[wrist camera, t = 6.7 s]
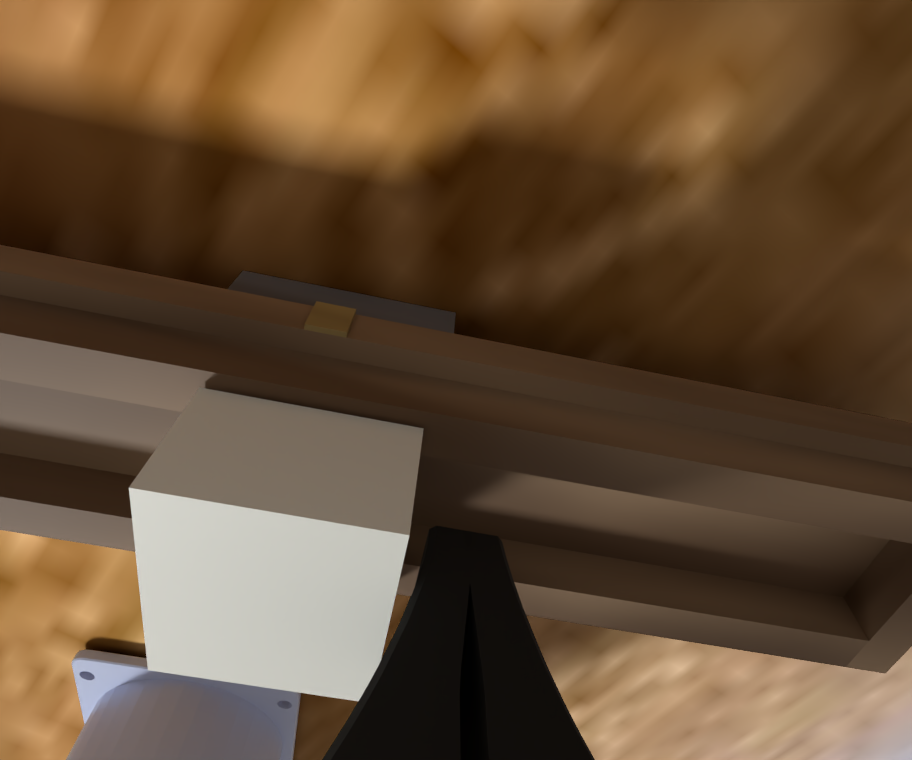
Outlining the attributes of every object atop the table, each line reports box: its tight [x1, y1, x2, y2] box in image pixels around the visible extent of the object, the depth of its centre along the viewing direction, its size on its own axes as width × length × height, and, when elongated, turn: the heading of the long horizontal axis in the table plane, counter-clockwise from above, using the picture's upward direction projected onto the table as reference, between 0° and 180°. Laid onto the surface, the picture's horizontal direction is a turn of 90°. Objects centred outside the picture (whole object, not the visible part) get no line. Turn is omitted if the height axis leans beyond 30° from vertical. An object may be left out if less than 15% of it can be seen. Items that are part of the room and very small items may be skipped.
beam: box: [0, 245, 912, 673], centre depth 14 cm, size 6×28×4 cm, turn 79°
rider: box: [129, 387, 424, 701], centre depth 12 cm, size 4×4×4 cm
